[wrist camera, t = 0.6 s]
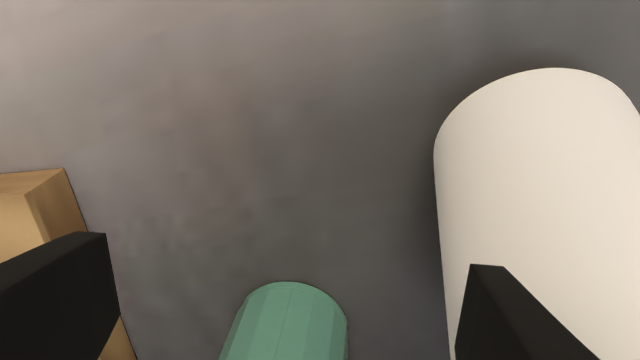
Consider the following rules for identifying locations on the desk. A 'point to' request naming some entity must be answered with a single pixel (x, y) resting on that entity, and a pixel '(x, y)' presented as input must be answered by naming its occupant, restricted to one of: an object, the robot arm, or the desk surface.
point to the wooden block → (46, 228)
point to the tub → (287, 325)
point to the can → (547, 200)
